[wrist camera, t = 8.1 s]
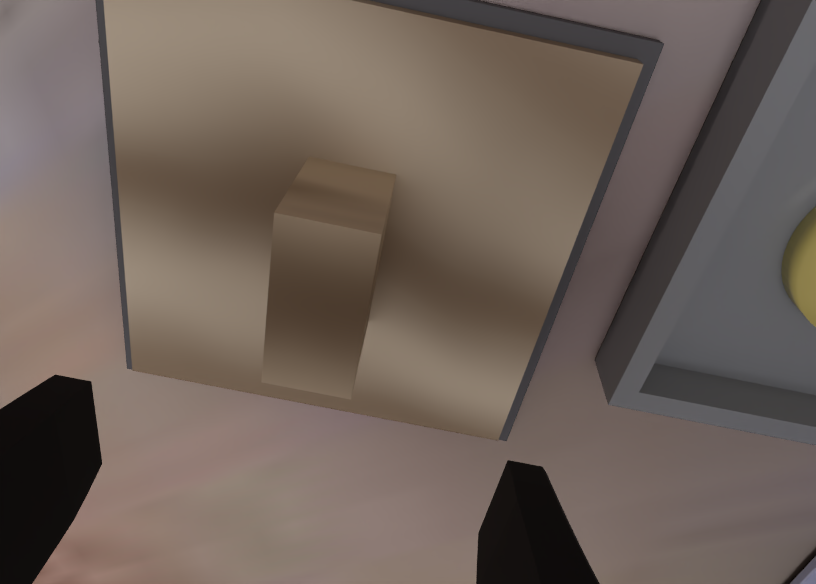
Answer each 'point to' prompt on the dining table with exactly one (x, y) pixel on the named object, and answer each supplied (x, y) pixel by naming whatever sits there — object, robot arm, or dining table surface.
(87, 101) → the dining table surface
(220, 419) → the dining table surface
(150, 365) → the lid
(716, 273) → the dish
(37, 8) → the dining table surface
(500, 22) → the mat
